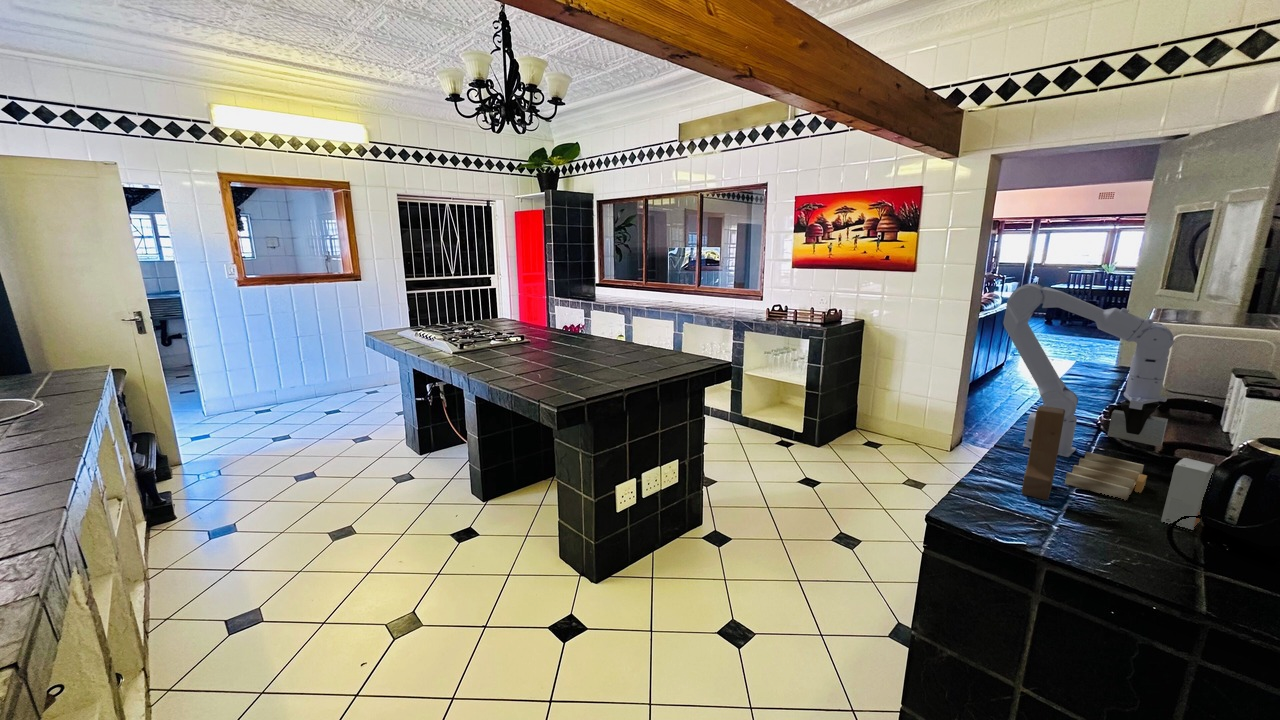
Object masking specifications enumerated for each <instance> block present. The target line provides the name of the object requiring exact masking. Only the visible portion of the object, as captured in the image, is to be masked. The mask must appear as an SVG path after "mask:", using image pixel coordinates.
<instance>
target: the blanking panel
mask: <svg viewBox="0 0 1280 720" xmlns="http://www.w3.org/2000/svg"><path fill="white" fill-rule="evenodd" d="M1168 420H1169V419H1168V418H1165V417H1158V416H1153V415H1150V416H1149V417H1148V418H1147V420H1146V422H1145V424H1144V427H1143V429H1142V431H1141V432H1140V434H1139V435H1136V434H1131V433H1127V431H1126V420H1125V414H1124V411H1123V410H1118V409H1114V410H1113V411H1112V412H1111V416H1110V422H1109V426H1108V432H1107V437H1113V438H1117V439H1121V440H1125V441H1126V440H1127V441H1130V442H1131V441H1132V442H1136V443H1139V444H1140V443H1141V444H1145V445H1151V446H1155V447H1159V448H1161V447H1162V444H1163V442H1164V438H1165V434H1166V429H1167V425H1168Z"/></svg>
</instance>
